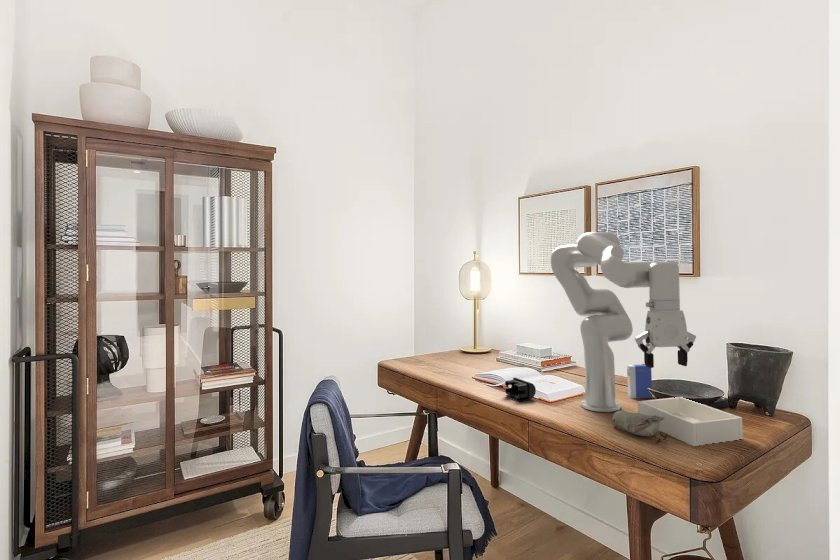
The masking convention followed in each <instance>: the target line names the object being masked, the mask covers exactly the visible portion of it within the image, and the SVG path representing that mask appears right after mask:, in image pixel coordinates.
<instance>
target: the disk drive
mask: <svg viewBox="0 0 840 560" xmlns="http://www.w3.org/2000/svg"><path fill="white" fill-rule="evenodd" d="M691 394H692V393H690V394H688V395H691ZM720 397H721V398H720V399H718V400H717V401H715V402H714V403H713V404H711V405H708V404H703V405H706V406H709V407H712V408H715V409H719V408H724V407H728V406H729V405H728V399H729V398H728V397H723V396H720Z"/></svg>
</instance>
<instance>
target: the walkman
mask: <svg viewBox="0 0 840 560" xmlns="http://www.w3.org/2000/svg"><path fill="white" fill-rule="evenodd" d="M626 370H627V371H626V372H627V373H626V375H627V377H626V378H627V397H628V398H629V399H646V398H647V399H649V398H651V399H652V398H653V393H652V394H651V393H650V392H649V390H648V389H647V388H652V389H653V384H652V383H653V381H652V376H653V375H652V368H650V367H647V366H646V365H645V363H641V364H627V365H626Z"/></svg>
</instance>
